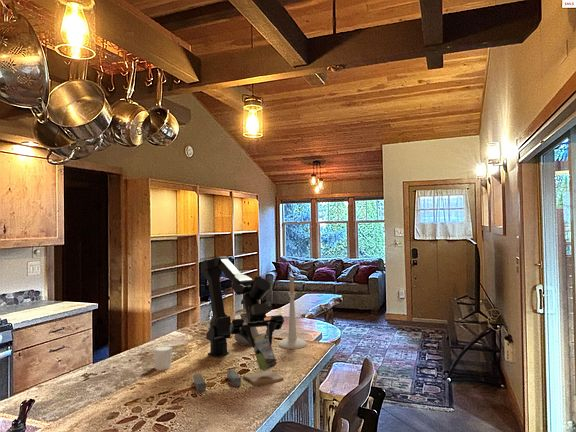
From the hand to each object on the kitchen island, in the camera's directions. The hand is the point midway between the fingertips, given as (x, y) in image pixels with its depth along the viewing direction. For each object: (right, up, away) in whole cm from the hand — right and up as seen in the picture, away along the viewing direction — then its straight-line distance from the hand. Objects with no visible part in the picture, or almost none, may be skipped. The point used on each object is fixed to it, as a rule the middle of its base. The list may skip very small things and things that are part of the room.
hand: (262, 346), depth 134 cm
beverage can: (+1, -9, +1) cm, 9 cm away
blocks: (-15, -11, -3) cm, 19 cm away
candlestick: (+11, -13, +42) cm, 46 cm away
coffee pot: (-9, -14, +51) cm, 53 cm away
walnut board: (0, -11, +1) cm, 11 cm away
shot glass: (-38, -13, +14) cm, 43 cm away
